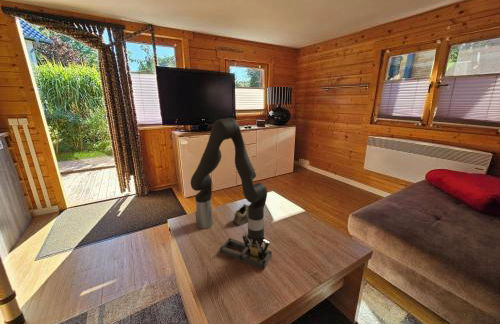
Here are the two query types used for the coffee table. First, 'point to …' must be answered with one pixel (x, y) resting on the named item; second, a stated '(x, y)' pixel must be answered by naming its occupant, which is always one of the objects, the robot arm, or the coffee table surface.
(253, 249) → the block
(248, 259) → the dark grey rectangular tray
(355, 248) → the coffee table surface
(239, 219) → the hiking shoe
